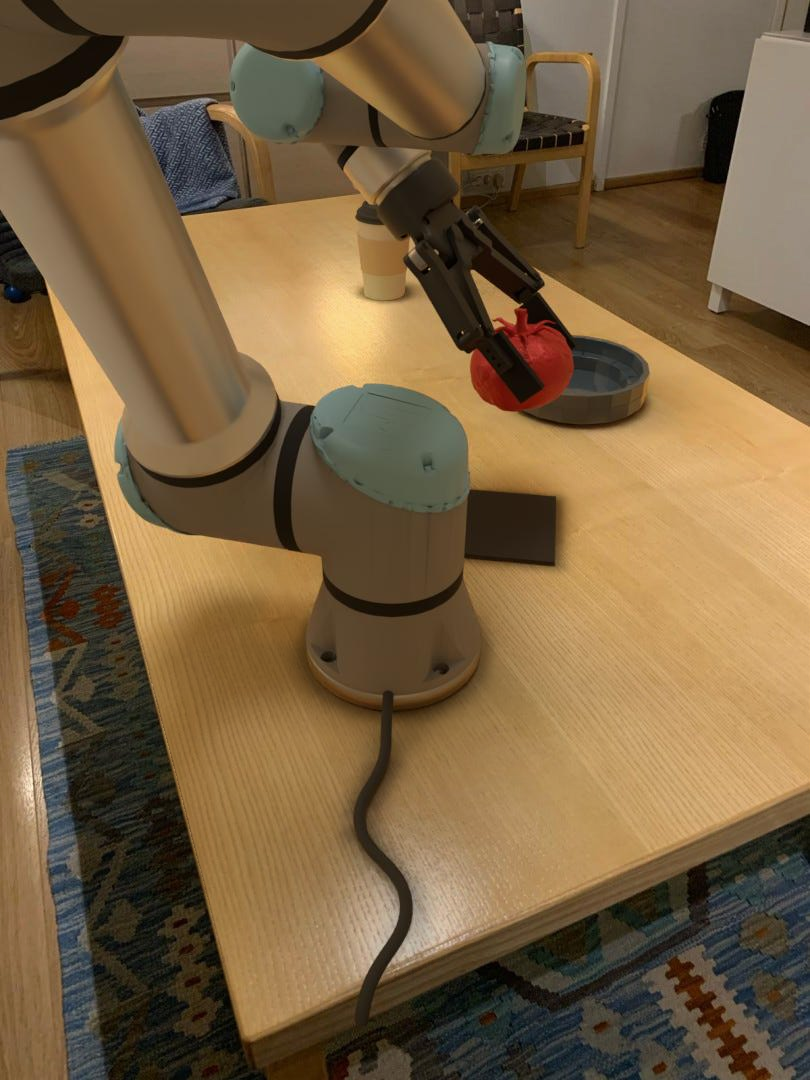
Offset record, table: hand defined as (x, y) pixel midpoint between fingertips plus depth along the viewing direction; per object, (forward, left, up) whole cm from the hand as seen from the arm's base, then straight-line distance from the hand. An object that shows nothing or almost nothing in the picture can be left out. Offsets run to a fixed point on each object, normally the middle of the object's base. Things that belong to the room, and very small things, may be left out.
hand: (550, 372), depth 84 cm
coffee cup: (+62, +27, -17) cm, 70 cm away
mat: (-3, +4, -17) cm, 17 cm away
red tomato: (+1, +3, -4) cm, 5 cm away
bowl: (+29, -4, -17) cm, 34 cm away
